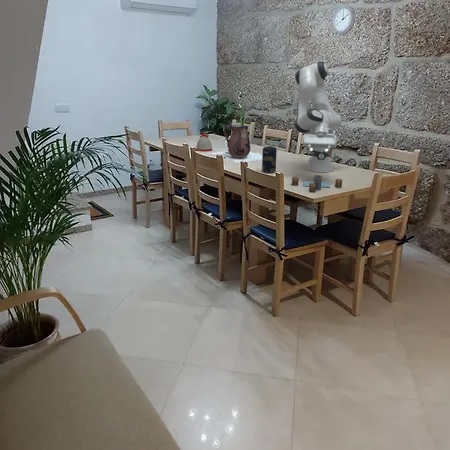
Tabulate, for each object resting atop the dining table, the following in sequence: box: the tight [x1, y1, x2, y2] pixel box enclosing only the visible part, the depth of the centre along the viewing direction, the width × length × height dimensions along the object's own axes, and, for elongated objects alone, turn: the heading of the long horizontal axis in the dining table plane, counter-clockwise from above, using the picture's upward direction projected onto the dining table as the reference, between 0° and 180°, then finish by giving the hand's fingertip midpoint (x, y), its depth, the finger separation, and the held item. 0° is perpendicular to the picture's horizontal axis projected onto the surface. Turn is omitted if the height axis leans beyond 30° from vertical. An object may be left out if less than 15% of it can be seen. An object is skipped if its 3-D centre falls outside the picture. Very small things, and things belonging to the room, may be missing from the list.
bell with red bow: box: [195, 132, 213, 153], centre depth 366 cm, size 14×14×15 cm
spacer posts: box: [291, 176, 343, 193], centre depth 254 cm, size 17×30×4 cm, turn 81°
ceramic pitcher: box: [223, 124, 251, 160], centre depth 335 cm, size 18×21×25 cm
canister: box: [261, 145, 278, 174], centre depth 291 cm, size 10×10×18 cm
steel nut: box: [313, 174, 323, 191], centre depth 253 cm, size 5×4×8 cm
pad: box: [302, 180, 331, 189], centre depth 263 cm, size 12×16×1 cm
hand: (318, 152), depth 259 cm, fingers open, 8 cm apart
